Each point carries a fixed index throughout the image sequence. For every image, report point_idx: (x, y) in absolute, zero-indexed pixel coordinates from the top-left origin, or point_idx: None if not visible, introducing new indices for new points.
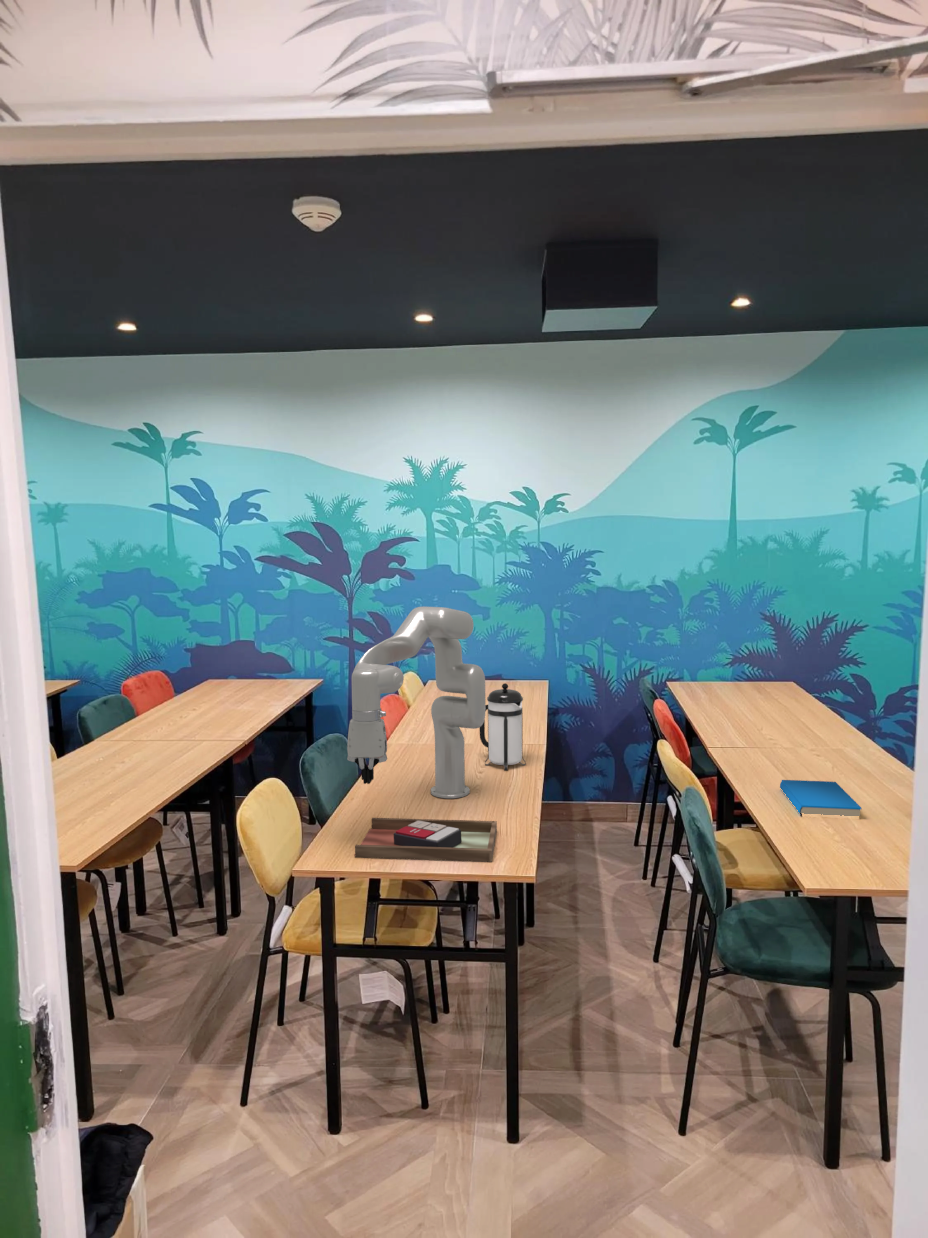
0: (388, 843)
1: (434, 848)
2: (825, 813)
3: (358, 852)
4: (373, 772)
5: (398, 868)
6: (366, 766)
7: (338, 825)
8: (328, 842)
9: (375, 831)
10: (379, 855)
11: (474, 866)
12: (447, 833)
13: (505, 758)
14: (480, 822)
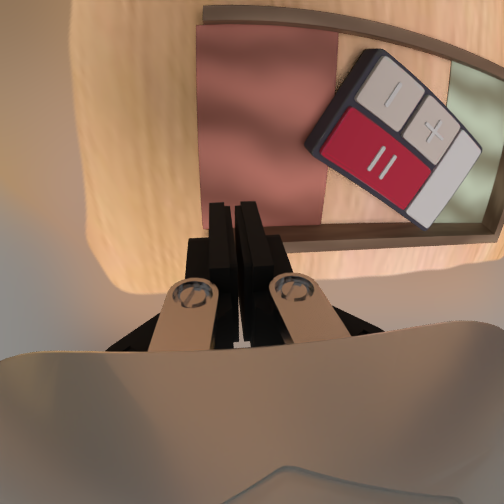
0: (286, 139)
1: (413, 244)
2: None
3: None
4: (287, 261)
5: (324, 276)
6: (232, 320)
7: (81, 15)
8: (97, 152)
9: (222, 43)
10: None
11: (457, 249)
12: (455, 184)
13: None
14: None
